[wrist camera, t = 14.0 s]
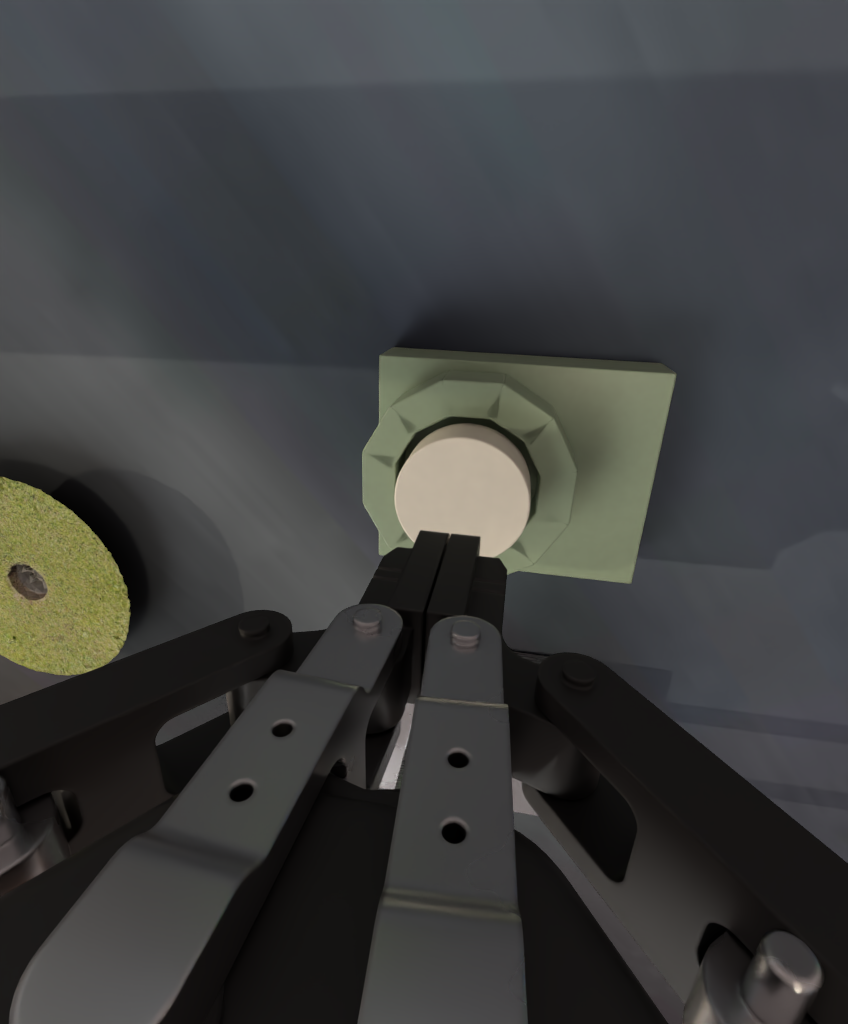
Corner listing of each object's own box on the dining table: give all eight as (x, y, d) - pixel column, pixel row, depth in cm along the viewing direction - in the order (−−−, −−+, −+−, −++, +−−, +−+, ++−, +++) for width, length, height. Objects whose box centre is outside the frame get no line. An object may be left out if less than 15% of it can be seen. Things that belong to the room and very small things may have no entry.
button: (403, 534, 21) (393, 556, 19) (405, 417, 19) (394, 431, 17) (522, 547, 20) (522, 571, 18) (537, 427, 18) (538, 443, 17)
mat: (-40, 610, 31) (-74, 630, 30) (-54, 429, 27) (-95, 440, 25) (143, 680, 31) (120, 705, 29) (163, 510, 26) (137, 527, 25)
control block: (387, 531, 25) (363, 577, 21) (388, 346, 22) (360, 362, 18) (622, 557, 23) (639, 610, 20) (662, 362, 20) (692, 383, 16)
